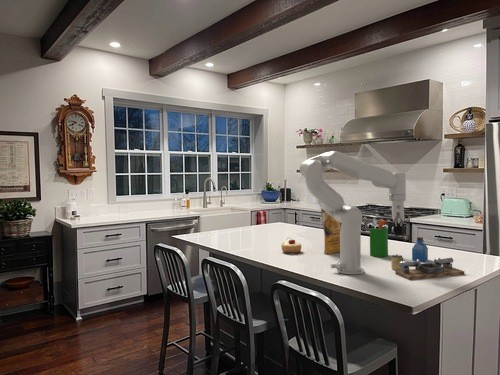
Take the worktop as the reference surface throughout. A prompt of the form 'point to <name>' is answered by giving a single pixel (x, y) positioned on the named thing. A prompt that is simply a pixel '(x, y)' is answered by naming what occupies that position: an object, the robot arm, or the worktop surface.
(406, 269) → the left shaft
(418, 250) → the perfume bottle
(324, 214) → the pancake mix bag
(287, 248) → the pastry
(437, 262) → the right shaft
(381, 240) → the green bottle
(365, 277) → the worktop surface
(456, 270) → the stand
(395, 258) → the coupling block
